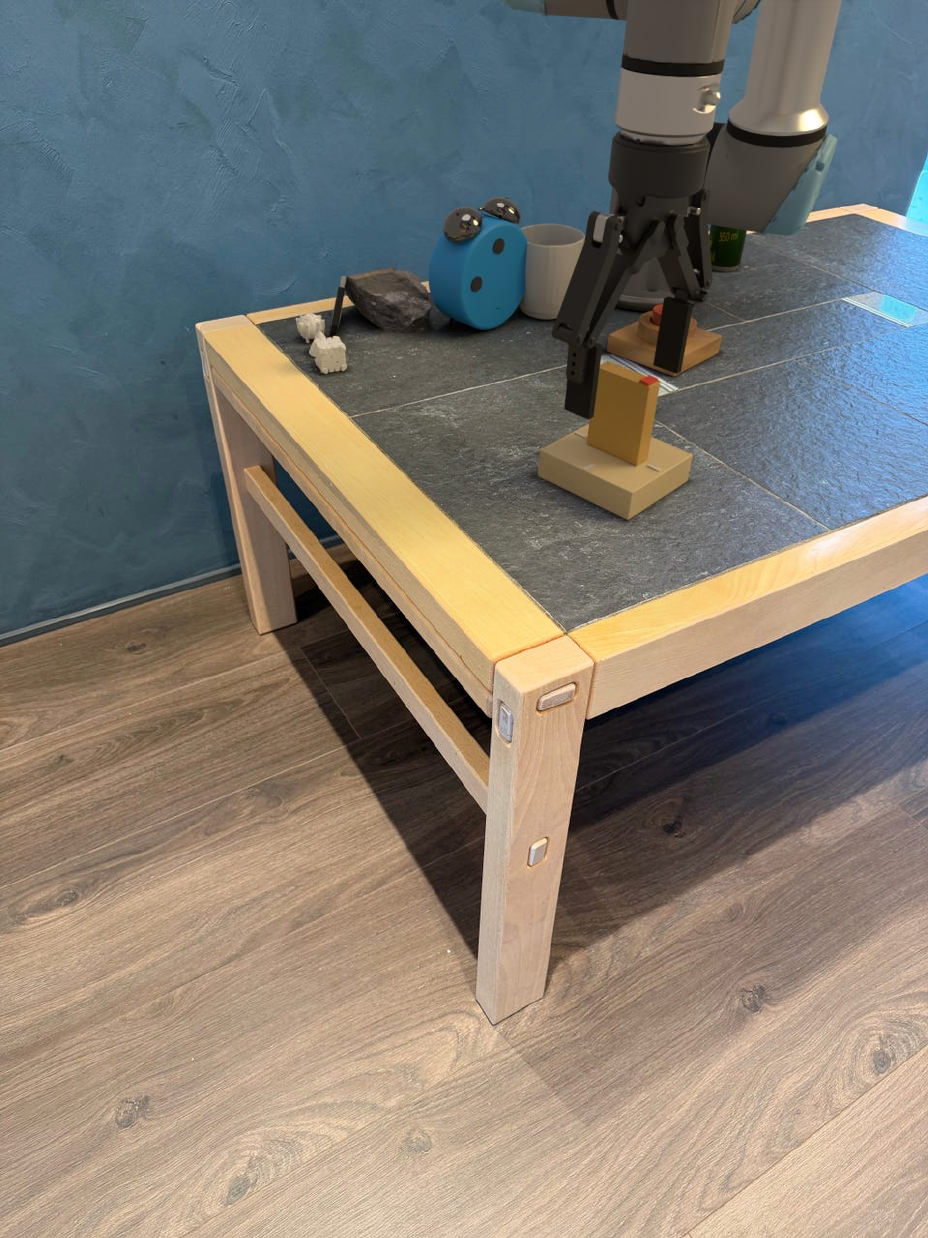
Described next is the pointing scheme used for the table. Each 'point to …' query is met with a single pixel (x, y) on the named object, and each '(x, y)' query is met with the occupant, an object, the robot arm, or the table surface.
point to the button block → (642, 341)
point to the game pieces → (322, 344)
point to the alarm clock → (479, 265)
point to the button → (657, 315)
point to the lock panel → (613, 473)
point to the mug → (549, 267)
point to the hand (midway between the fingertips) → (624, 390)
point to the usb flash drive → (338, 308)
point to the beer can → (726, 247)
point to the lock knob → (623, 413)
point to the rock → (391, 299)
